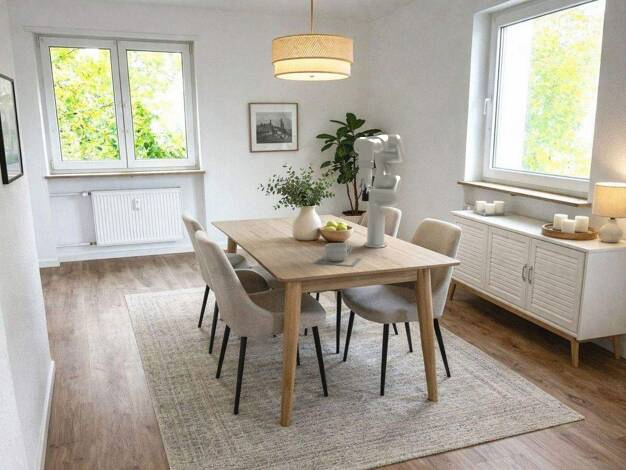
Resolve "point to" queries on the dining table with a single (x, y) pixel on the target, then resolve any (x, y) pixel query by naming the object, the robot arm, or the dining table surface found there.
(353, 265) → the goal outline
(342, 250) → the teacup
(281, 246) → the dining table surface
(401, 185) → the robot arm
